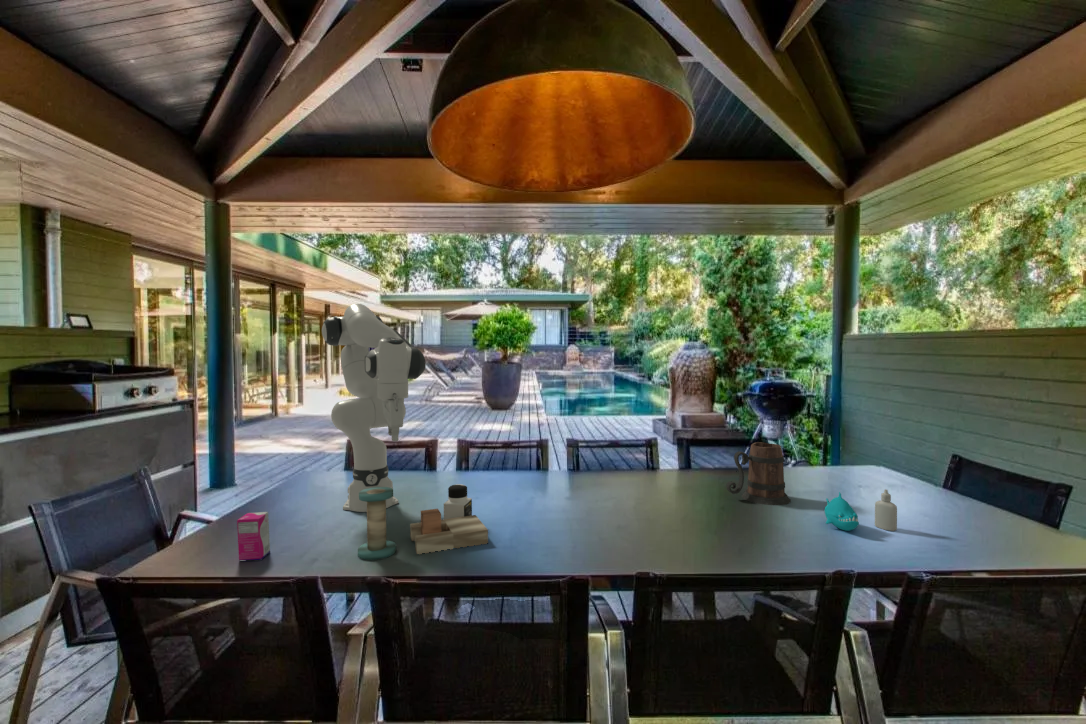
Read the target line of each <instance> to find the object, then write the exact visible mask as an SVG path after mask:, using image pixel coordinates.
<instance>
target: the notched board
mask: <svg viewBox="0 0 1086 724" xmlns="http://www.w3.org/2000/svg"><path fill="white" fill-rule="evenodd" d="M409 528H410V529H409V530H410V531H409V533H410V536H409V537H410V540H411V542H414V543H415V545H414V546H415V547H414V548H415V549H414V550H415V552H416V555H417V554H419V555H423V554H422V553H425V554H430V553H429V552H431V553H436V552H435V551H438V552H442V551H441V550H444V551H448V550H447V549H450V550H454V549H453V548H457V549H461V548H460V547H463V548H468V547H467V546H469V547H474V545H475V546H481V544H482V545H488V544H489V529H488V528H487V527H486V526H485V524H484V523H483V522H482V521H481V520H480V518H479V517H478V516H477V514H472V516H464V517H457V518H450V519H444V518H443V519H442V518H441V532H438V533H431V534H425V535H421V521H420V522H414V523H410V524H409ZM487 543H488V544H487Z"/></svg>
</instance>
